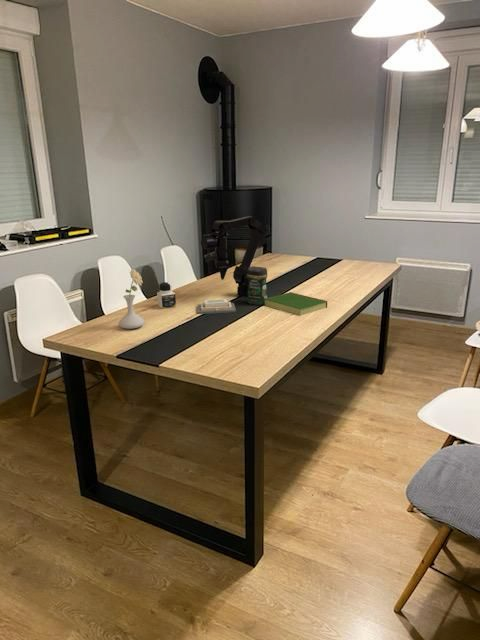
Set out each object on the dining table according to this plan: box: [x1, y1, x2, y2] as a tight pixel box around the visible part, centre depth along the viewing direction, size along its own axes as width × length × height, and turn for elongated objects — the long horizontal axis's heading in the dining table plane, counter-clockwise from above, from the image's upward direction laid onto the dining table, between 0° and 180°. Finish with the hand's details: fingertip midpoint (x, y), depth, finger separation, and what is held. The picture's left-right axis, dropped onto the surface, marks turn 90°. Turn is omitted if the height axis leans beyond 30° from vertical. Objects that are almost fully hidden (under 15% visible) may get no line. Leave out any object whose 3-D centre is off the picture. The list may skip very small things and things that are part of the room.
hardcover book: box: [264, 291, 328, 316], centre depth 236 cm, size 25×19×4 cm
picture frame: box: [203, 298, 229, 308], centre depth 233 cm, size 11×6×3 cm, turn 100°
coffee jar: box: [247, 265, 268, 306], centre depth 240 cm, size 10×8×19 cm
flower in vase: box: [117, 268, 146, 330], centre depth 208 cm, size 13×11×25 cm
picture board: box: [196, 301, 237, 315], centre depth 233 cm, size 18×13×2 cm
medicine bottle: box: [156, 281, 177, 310], centre depth 238 cm, size 7×7×12 cm
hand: (222, 277), depth 245 cm, fingers open, 9 cm apart
